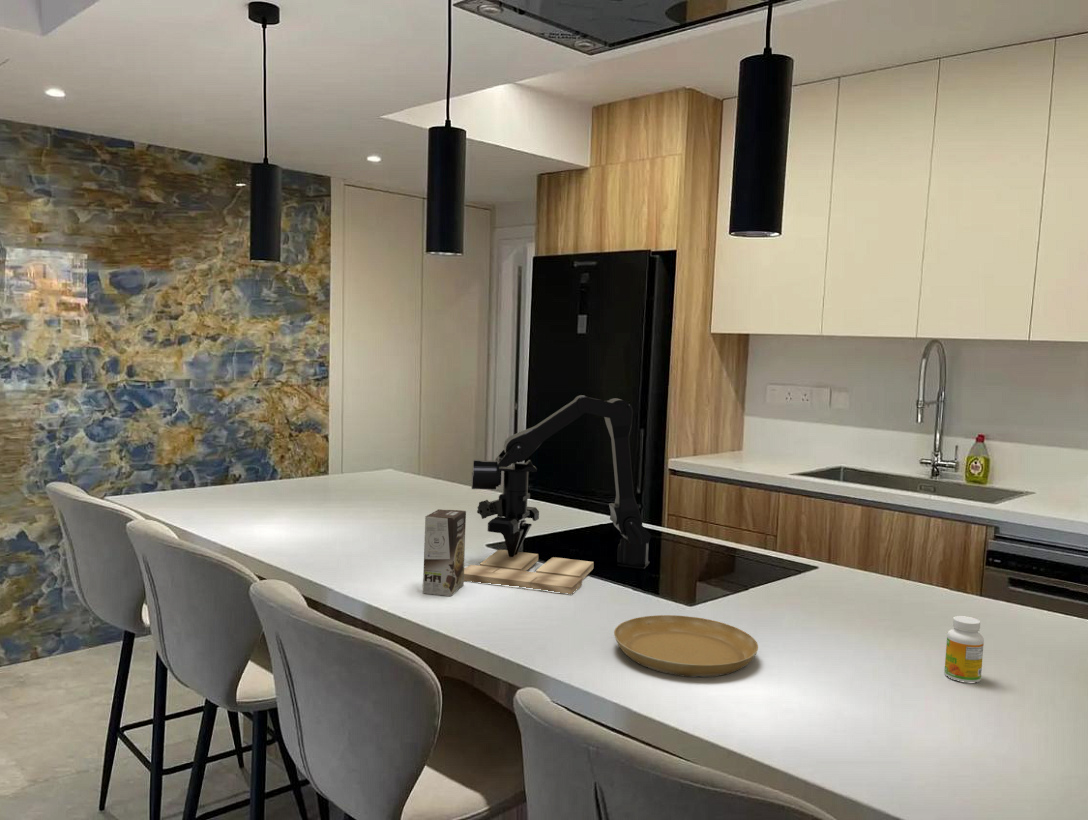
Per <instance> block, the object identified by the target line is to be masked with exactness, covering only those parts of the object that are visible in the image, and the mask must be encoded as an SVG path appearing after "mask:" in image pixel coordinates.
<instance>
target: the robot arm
mask: <svg viewBox="0 0 1088 820" xmlns="http://www.w3.org/2000/svg"><path fill="white" fill-rule="evenodd" d="M633 413H634V410H633V407H632V405H631V404H630V403H629V402H628V401H626V400H625V399H624V400H623V399H620V398H617V397H616V398H609V400H604V399H598V398H593V397H588V396H586V395H582V394H580V395H577V396H576V397H575V398H574V399H573V400H572V401H569V402H568V403H567V404H566V405H564V406H563V407H560V409H558V410H556V411H554V413H552V414H550V415H549V416H548V417H546V418H545V419H543V420H542V421H540V422H539V423H537V424H536V425H534V426H532V427H529V428H527V429H525V430H521V431H518V432H517V433H515V434H514V433H513V435H510V436H508V437H507V438H505V441H504V443H503V449H502V450H501V452H500V453H499V454H498V456H497V457H496V458H495V460H482V459H473V461H472V471H471V474H470V475H471V477H470V485H471V488H470V489H471V490H491V491H492V490H496V489H497V487H499V486H501V485H503V486H502V493H500V494H499V495H498V499H495V500H494V499H493V500H491V501H489V500H488V499H485V500H481V501H479V503H478V506H477V511H476V513H477V514H479V515H480V516H481V519H482V520H484V519H486V518H488V517H492V516H495V515H497V516H496V517H494V518H491V519H490V520H489V521H488V522H487V532H489V533H497V534H501V535H502V536H503V539H504V543H505V546H506V547H505V548H506V550H507V551H508V554H509V557H514V555H517V553H518V552H520V549H521V547H522V545H523V543H524V540H525V539H526V537H527V535H528V532H529V530H531V529H530V528H531V527H532V526H533V524H532V523H527V520H525V519H532V521H533V522H536V521H538V520H539V518H540V511H539V509H538V508H537V507H534V506H528V499H530V498H531V493H530V492H528V490H529V488H528V487H529V473H530V472H537V470H538V469H537V467H536V466H535V465H533V463H532V460H531V459H528V458H530V456H531V455H533V453H535V452H536V450H538V448H539V447H540V446H541V445H542V444H543V443H544V442H545V441H546V440H547V439H549V438H550V437H553V436H554V435H555V434H556V433H558V432H560V430H563V428H566V426H568V425H570V424H571V423H573V422H574V421H575V420H577V419H579V418H580V417H582V416H583V415H585V414H591V415H595V416H599V417H603V418H604V421H605V425H606V428H607V430H608V431H607V432H608V434H609V436H610V439H611V452H612V464H613V472H614V474H613V475H614V485H615V499H614V503H613V502H611V503H610V502H609V503H608V507H609V510H610V517H609V520H610V521H611V522H612V523H613V526H614V527H615V528H616V529H617V530H618V531H619V532H620V535H621V536H622V538H620V541H619V544H618V546H617V559H616V560H617V567H621V568H622V567H623V568H633V569H638V570H639V569H640V570H645V569H646V568H647V567H648V565H649V564H650V561H649V543H650V541H651V538H652V534H651V533H650V532H649V531H648V529H646V528H645V527H644V526H643V519H642V516H641V515H642V514H641V512H640V508H639V506H638V502H637V500H636V497H635V494H634V493H635V492H634V482H633V468H632V460H631V458H632V457H631V456H632V455H631V449H630V448H631V447H630V435H631V430H632V426H633V415H634V414H633ZM527 459H528V460H527ZM526 460H527V461H526ZM525 461H526V462H525ZM522 462H525V463H522ZM511 465H512V466H511ZM502 472H503V481H502ZM502 482H503V484H502Z"/></svg>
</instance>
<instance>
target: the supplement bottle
mask: <svg viewBox="0 0 1088 820" xmlns="http://www.w3.org/2000/svg"><path fill="white" fill-rule="evenodd" d="M952 627H953V628H951V629H949V630H948V632H947V634H946V646H945V647H946V648H945V659H944V670H943V671H944V672H943V673H944V675H945V677H947V676H948V677H950V678H952V679H955V680H959V681H964V682H977V683H979V682H980V681H981V680H982V670H983V669H982V667H983V659H984V644H985V642H984V641H985V640H984V637H983V635H982V634H981V633H979V632H980V629H981V621H980V619H977V618H975V617H971V616H964V615H956V616H953V618H952ZM948 677H947V678H948ZM950 678H949V679H950ZM952 679H951V680H952ZM978 681H979V682H978Z"/></svg>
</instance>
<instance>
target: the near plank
mask: <svg viewBox="0 0 1088 820" xmlns="http://www.w3.org/2000/svg"><path fill="white" fill-rule="evenodd" d="M594 565H595V564H594V561H588V560H582V559H581V560H580V559H570V558H565V557H564V558H563V557H556V556H555V557H554V556H553V557H552V556H551V558H550V559H548V560H547V561H546V562H545V563H543V564H542V565H541V566H540V567H539V568H537V569H536V570H535V572H536V573H544V574H552V575H560V576H568V577H577V578H582V581H583V580H584V579H585V578H586V577H587V576H588V575H589V574H590V573H591V572H592V571H593V569H594Z"/></svg>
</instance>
